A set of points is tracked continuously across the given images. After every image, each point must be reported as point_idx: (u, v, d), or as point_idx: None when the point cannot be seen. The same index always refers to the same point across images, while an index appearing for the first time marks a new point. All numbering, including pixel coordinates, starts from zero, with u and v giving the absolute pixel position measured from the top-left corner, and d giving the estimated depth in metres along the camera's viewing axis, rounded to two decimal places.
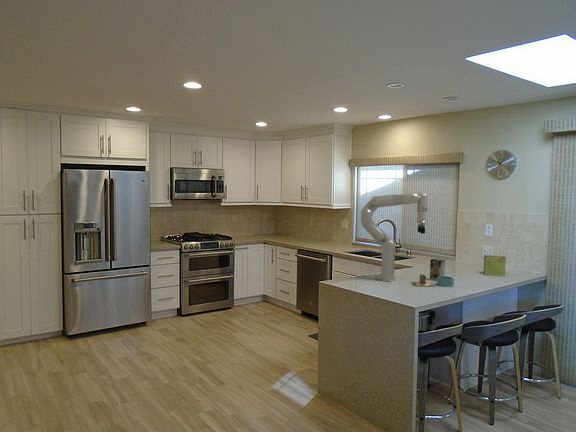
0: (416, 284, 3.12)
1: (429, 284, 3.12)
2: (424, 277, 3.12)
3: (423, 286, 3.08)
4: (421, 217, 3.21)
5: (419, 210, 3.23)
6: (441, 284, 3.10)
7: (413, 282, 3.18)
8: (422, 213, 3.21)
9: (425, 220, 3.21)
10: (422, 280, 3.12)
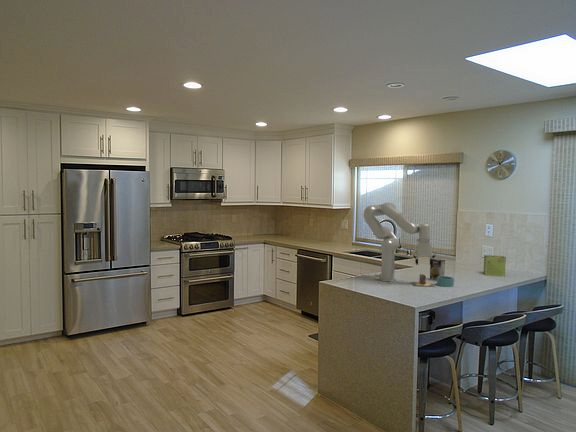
0: (416, 284, 3.11)
1: (429, 284, 3.12)
2: (424, 277, 3.12)
3: (423, 286, 3.08)
4: (431, 248, 3.12)
5: (428, 241, 3.11)
6: (441, 284, 3.10)
7: (413, 282, 3.18)
8: None
9: None
10: (422, 280, 3.12)
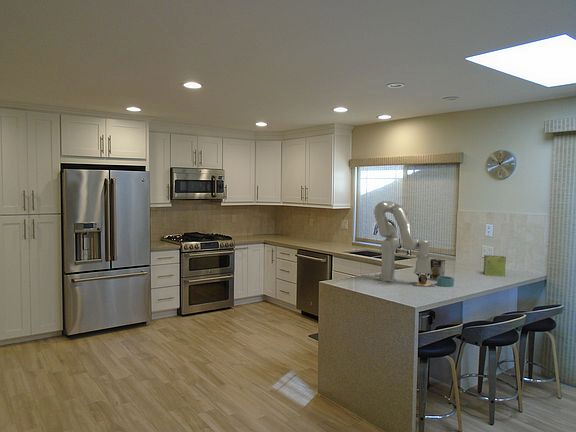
0: (416, 284, 3.11)
1: (429, 284, 3.12)
2: (424, 277, 3.12)
3: (423, 286, 3.08)
4: (430, 264, 3.13)
5: (428, 258, 3.11)
6: (441, 284, 3.10)
7: (413, 282, 3.18)
8: None
9: None
10: (422, 280, 3.12)
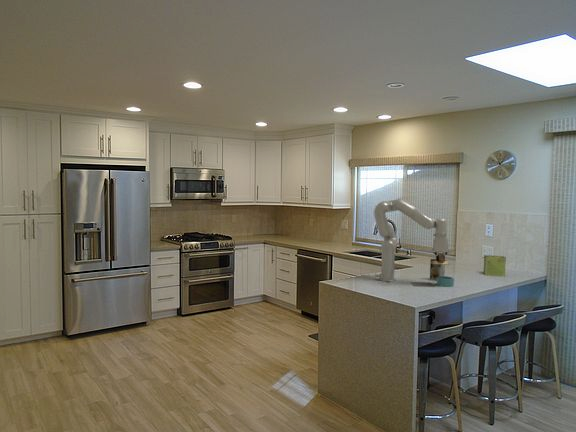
0: (434, 263, 3.09)
1: (447, 263, 3.09)
2: (442, 256, 3.10)
3: (423, 286, 3.08)
4: None
5: (445, 236, 3.09)
6: (441, 284, 3.10)
7: (431, 261, 3.15)
8: None
9: None
10: (440, 259, 3.10)
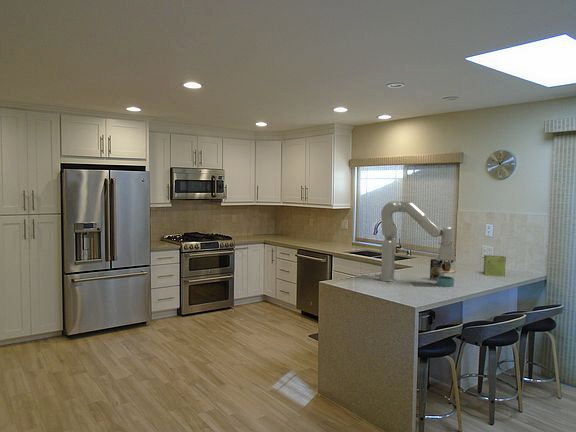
0: (440, 271, 3.09)
1: (453, 271, 3.09)
2: (448, 264, 3.10)
3: (423, 286, 3.08)
4: None
5: (451, 244, 3.09)
6: (441, 284, 3.10)
7: None
8: None
9: None
10: (446, 267, 3.10)
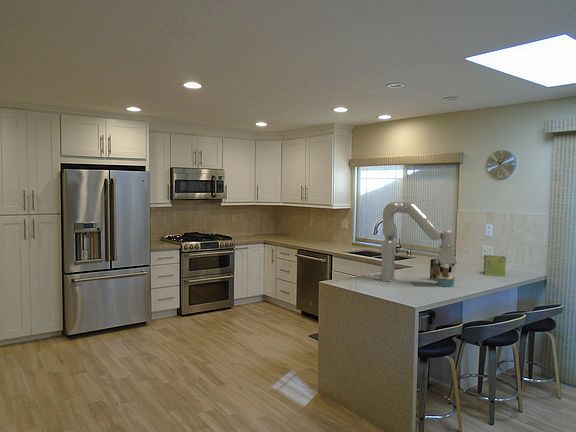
0: (439, 277, 3.10)
1: (452, 277, 3.10)
2: (447, 270, 3.10)
3: (423, 286, 3.08)
4: (453, 255, 3.11)
5: (451, 248, 3.10)
6: (441, 284, 3.10)
7: (436, 275, 3.16)
8: None
9: None
10: (445, 273, 3.10)
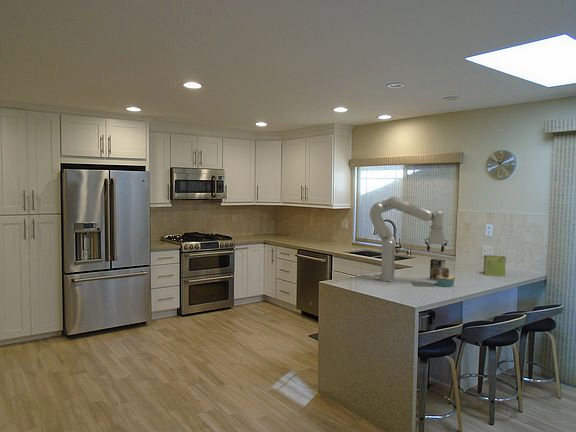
0: (439, 277, 3.10)
1: (452, 277, 3.10)
2: (447, 270, 3.10)
3: (423, 286, 3.08)
4: (443, 236, 3.15)
5: (441, 229, 3.14)
6: (441, 284, 3.10)
7: (436, 275, 3.16)
8: None
9: None
10: (445, 273, 3.10)
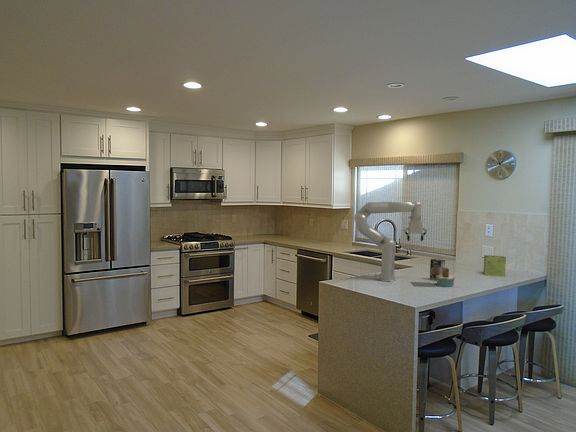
0: (439, 277, 3.10)
1: (452, 277, 3.10)
2: (447, 270, 3.10)
3: (423, 286, 3.08)
4: (422, 225, 3.27)
5: (420, 218, 3.26)
6: (441, 284, 3.10)
7: (436, 275, 3.16)
8: None
9: None
10: (445, 273, 3.10)
